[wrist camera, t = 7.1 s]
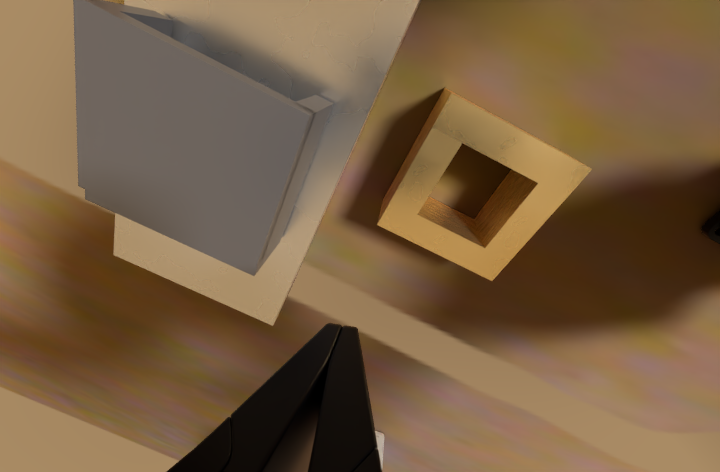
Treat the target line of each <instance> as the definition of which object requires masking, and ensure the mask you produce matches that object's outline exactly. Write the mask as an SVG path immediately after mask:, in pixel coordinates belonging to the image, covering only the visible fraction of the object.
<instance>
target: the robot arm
mask: <svg viewBox="0 0 720 472" xmlns="http://www.w3.org/2000/svg"><path fill="white" fill-rule="evenodd" d="M719 227H720V211H719V212H718V213H717V214H715V215H714V216H713V217H712V218H711V219H709V220H708V221H707V222H706V223H705V224H704V225H703V226H702V229H701V231H702V233H703V234H704V235H705V236H707V237H708V238H710V239H712V240H714V241H715V242H717V243H719V244H720V229H719V230H717V231H715V230H716V229H717V228H719ZM377 447H378V445H377V440H376V434H375V428H374V422H373V416H372V410H371V404H370V398H369V392H368V386H367V380H366V375H365V369H364V363H363V357H362V351H361V345H360V339H359V333H358V329H357V328H356V327H351V326H343V327H342V326H341V325H339V324H332V323H328V324H326V325H325V326H324V327H323V328H322V329H321V330H320V331H319V332H318V333H317V334H316V335H315V336H314V337H313V338H312V339H311V340H310V341H308V342H307V343H306V344H305V345H304V346H303V347H302V348H301V349H300V350H299V351H298V352H297V353H296V354H295V355H294V356H293V357H292V358H291V359H289V360H288V361H287V362H286V363H285V364H284V365H283V366H282V367H281V368H280V369H279V370H278V371H277V372H276V373H275V374H274V375H273V376H271V377H270V378H269V379H268V380H267V381H266V382H265V383H264V384H263V385H262V386H261V387H260V388H259V389H258V390H257V391H256V392H255V393H254V394H252V395H251V396H250V397H249V398H248V399H247V400H246V401H245V402H244V403H243V404H242V405H241V406H240V407H239V408H238V409H237V410H236V411H235V412H233V413H232V414H231V418H230V417H228V418H227V419H226V420H225V421H224V422H223V423H222V424H221V425H220V426H218V427H217V428H216V429H215V430H214V431H213V432H212V433H211V434H210V435H209V436H208V437H207V438H205V439H204V440H203V441H202V442H201V443H200V444H199V445H198V446H197V447H195V448H194V449H193V450H192V451H191V452H190V453H188V454H187V455H186V456H185V457H184V458H182V459H181V460H180V461H179V462H178V463H176V464H175V465H174V466H173V467H172V468H170V469H169V470H168V471H167V472H382V468H381V462H380V456H379V451H378V449H377Z"/></svg>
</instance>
